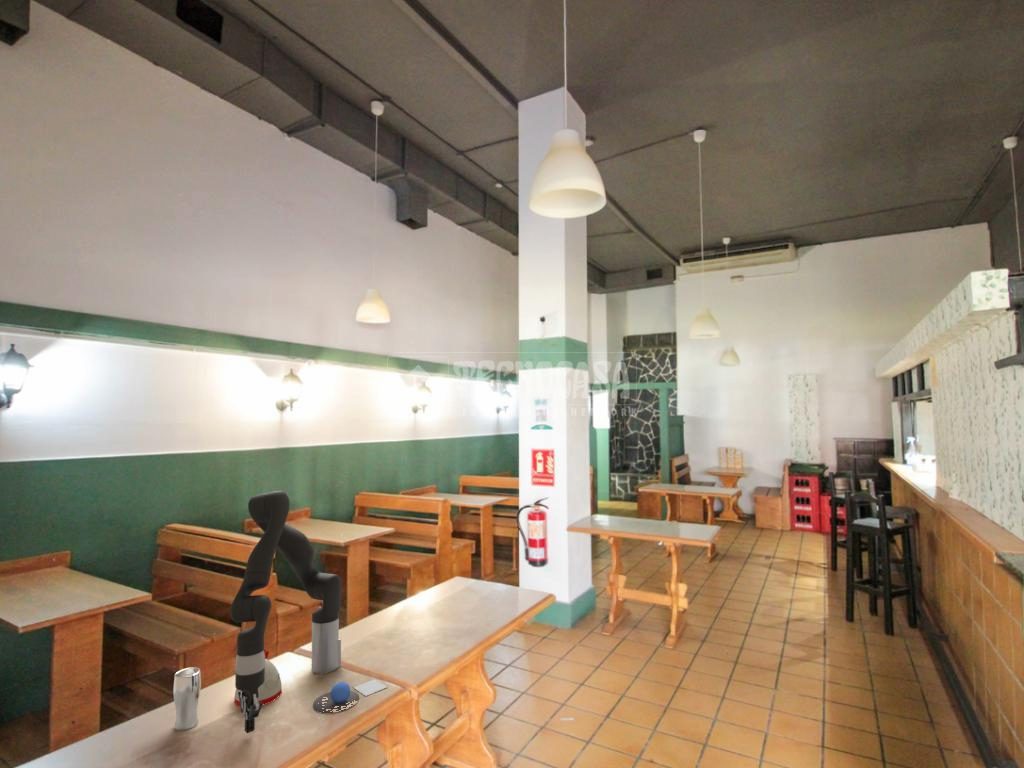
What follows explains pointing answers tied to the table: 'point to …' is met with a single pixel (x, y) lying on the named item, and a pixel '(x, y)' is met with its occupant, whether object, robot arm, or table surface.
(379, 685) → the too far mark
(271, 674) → the kitchen timer
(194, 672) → the beer glass
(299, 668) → the table surface
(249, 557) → the robot arm
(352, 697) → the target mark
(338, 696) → the ball
